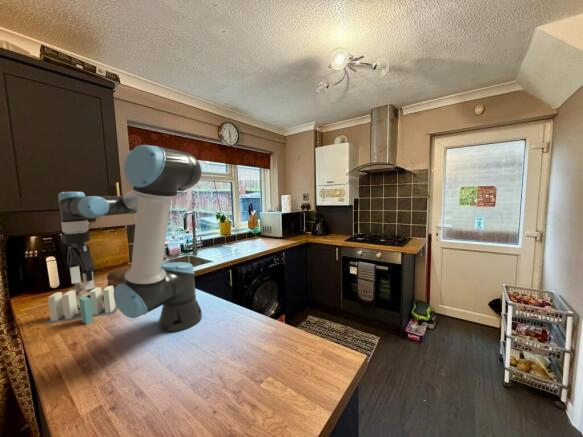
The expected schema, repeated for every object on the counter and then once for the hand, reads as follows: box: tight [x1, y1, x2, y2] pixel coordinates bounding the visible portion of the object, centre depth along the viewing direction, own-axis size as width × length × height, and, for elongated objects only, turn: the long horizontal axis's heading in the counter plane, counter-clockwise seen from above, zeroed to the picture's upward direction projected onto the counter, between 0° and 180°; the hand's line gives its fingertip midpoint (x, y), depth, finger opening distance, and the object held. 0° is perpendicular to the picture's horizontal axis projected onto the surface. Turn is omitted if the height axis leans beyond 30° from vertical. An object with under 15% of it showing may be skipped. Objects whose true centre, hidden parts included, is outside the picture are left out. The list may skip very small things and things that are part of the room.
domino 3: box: [89, 286, 104, 315], centre depth 101 cm, size 2×5×10 cm, turn 17°
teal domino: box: [79, 296, 94, 325], centre depth 94 cm, size 2×5×10 cm, turn 58°
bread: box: [106, 264, 132, 289], centre depth 123 cm, size 17×30×13 cm, turn 59°
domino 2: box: [62, 289, 79, 319], centre depth 99 cm, size 2×5×10 cm, turn 18°
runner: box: [41, 304, 119, 326], centre depth 101 cm, size 24×9×1 cm, turn 108°
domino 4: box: [102, 286, 116, 313], centre depth 103 cm, size 2×5×10 cm, turn 18°
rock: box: [67, 281, 104, 310], centre depth 115 cm, size 24×9×15 cm
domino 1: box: [47, 291, 65, 321], centre depth 97 cm, size 2×5×10 cm, turn 18°
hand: (82, 285), depth 93 cm, fingers open, 13 cm apart
